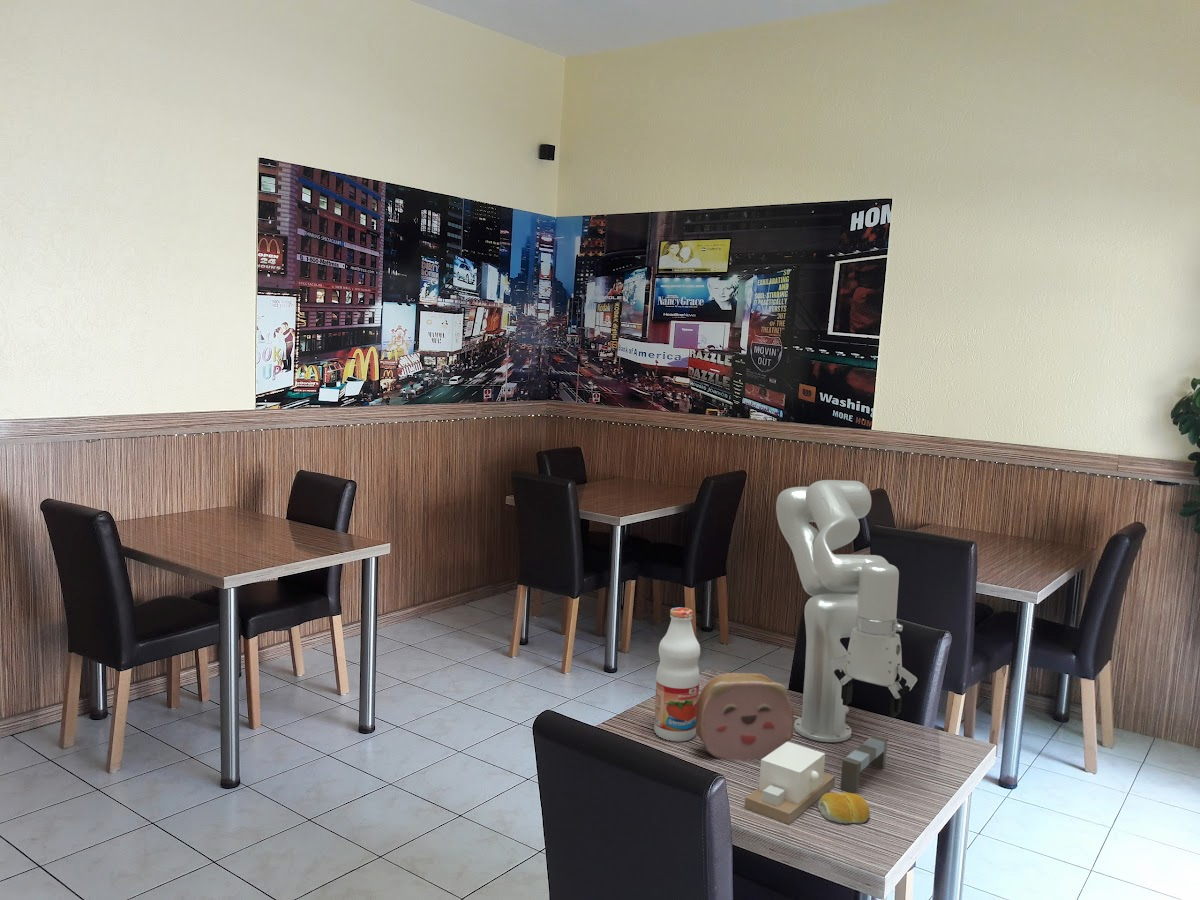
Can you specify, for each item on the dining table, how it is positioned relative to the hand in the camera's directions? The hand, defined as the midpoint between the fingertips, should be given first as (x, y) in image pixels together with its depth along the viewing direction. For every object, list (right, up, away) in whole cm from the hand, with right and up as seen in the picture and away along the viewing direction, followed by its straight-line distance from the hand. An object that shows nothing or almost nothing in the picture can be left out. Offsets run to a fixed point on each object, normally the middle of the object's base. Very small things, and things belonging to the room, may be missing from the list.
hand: (870, 709), depth 185 cm
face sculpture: (-24, -13, +11) cm, 29 cm away
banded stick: (-1, -14, +2) cm, 15 cm away
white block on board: (-17, -15, -7) cm, 24 cm away
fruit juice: (-37, -11, +20) cm, 44 cm away
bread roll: (-9, -16, -13) cm, 22 cm away
